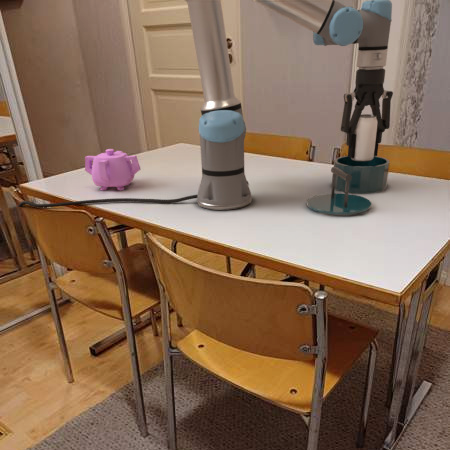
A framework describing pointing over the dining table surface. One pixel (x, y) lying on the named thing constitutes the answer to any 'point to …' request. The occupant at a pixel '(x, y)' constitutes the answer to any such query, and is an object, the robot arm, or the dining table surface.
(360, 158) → the can
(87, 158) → the pot
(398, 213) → the dining table surface
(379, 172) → the pot
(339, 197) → the lid
